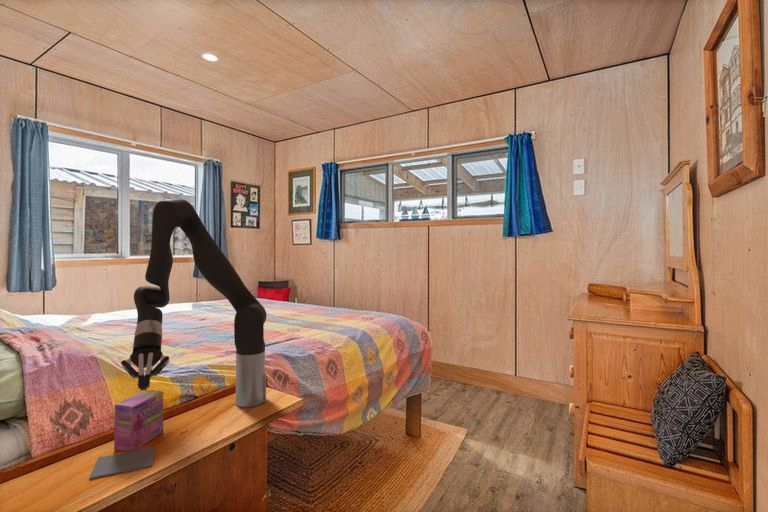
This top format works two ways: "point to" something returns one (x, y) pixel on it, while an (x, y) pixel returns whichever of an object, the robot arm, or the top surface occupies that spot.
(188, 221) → the robot arm
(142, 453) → the mat
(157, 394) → the box
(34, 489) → the top surface
